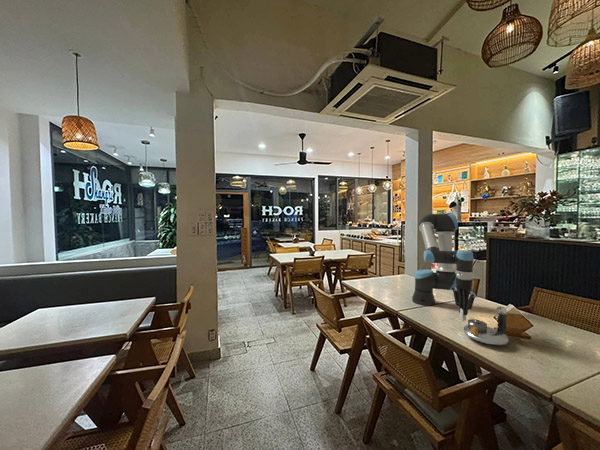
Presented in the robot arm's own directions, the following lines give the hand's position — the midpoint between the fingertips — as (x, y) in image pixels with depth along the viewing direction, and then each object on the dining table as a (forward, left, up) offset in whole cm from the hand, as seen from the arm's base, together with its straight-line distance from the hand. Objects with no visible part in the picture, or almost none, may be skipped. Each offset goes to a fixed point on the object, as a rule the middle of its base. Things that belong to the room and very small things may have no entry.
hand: (462, 319), depth 132 cm
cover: (+8, 0, -2) cm, 8 cm away
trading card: (-3, +2, -6) cm, 7 cm away
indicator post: (+12, +10, -5) cm, 16 cm away
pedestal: (+12, 0, -5) cm, 13 cm away
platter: (+12, 0, -3) cm, 12 cm away
